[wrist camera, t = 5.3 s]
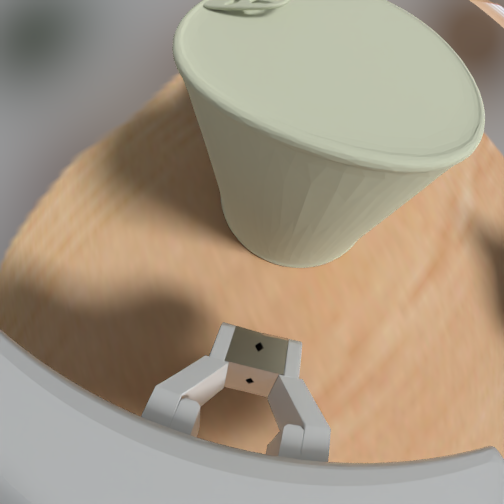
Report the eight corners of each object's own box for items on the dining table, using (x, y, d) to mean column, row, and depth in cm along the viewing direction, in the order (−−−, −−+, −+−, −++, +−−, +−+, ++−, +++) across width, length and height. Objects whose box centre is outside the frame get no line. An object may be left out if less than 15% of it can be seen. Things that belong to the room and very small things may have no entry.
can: (256, 116, 18) (252, -42, 6) (380, 164, 17) (470, 34, 5) (195, 232, 16) (87, 84, 4) (342, 292, 15) (511, 243, 3)
